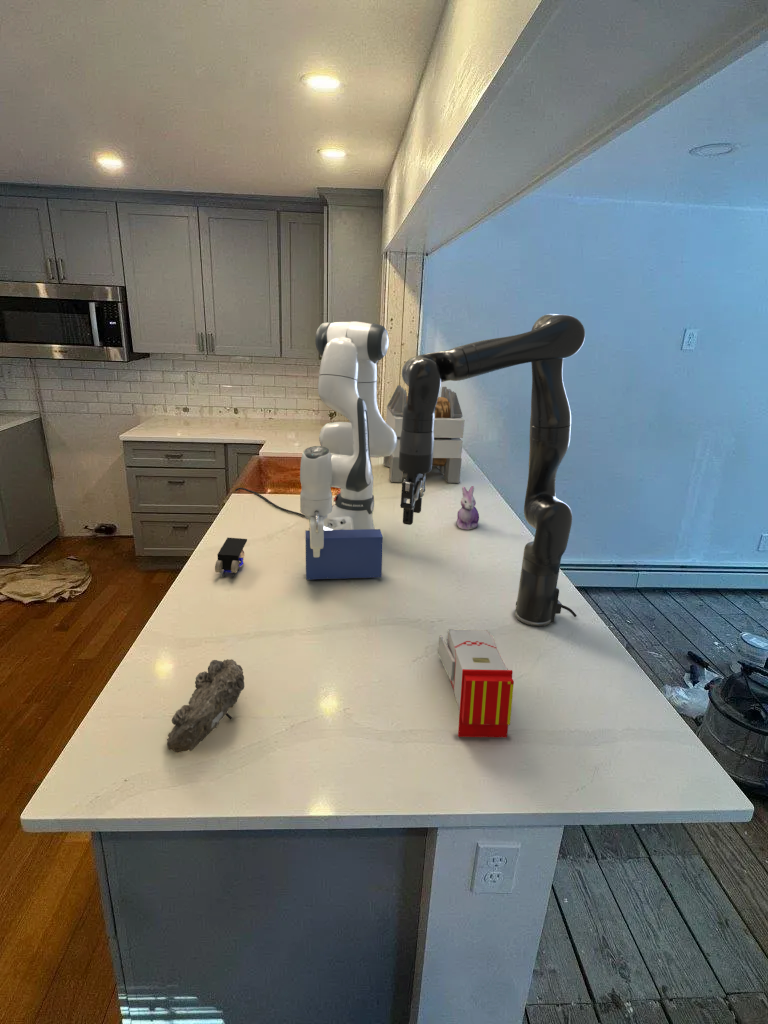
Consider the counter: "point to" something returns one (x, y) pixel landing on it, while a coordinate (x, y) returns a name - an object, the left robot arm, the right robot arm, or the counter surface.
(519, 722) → the counter surface
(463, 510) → the figurine
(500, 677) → the toy
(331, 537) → the box
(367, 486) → the left robot arm
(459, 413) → the grey boxy piece
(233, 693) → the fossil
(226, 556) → the figurine character
